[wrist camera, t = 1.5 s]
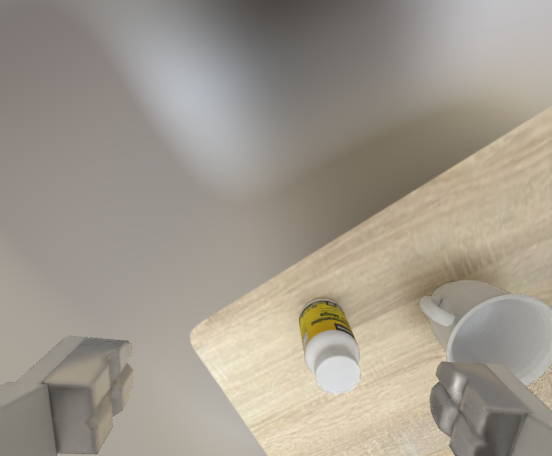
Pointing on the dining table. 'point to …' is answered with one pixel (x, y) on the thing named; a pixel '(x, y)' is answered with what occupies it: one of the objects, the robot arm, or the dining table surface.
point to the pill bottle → (329, 346)
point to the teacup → (491, 327)
